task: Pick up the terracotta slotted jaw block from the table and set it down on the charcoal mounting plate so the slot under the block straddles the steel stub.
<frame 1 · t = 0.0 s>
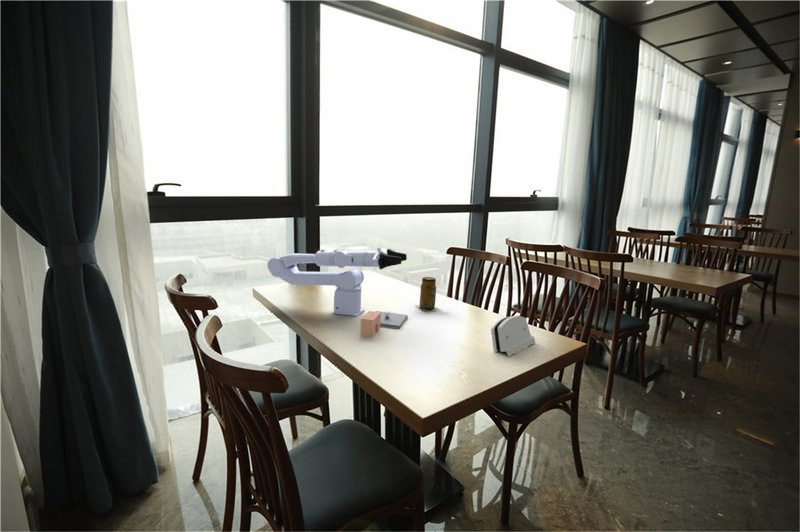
hand: (403, 258, 132), 22 cm above the table, tool horizontal, fingers open, 7 cm apart
jaw block: (370, 331, 122), on the table
mounting plate: (386, 320, 133), on the table
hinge: (511, 346, 117), on the table
steel stub: (387, 314, 133), on the mounting plate, point 2 cm above the table
condiment: (427, 308, 150), on the table
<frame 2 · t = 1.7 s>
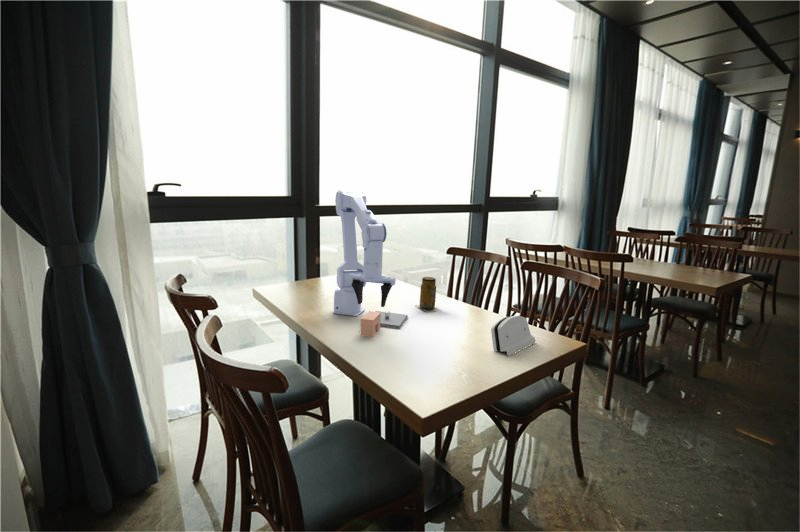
hand: (371, 304, 120), 9 cm above the table, tool pointing down, fingers open, 7 cm apart
nothing on the table moved.
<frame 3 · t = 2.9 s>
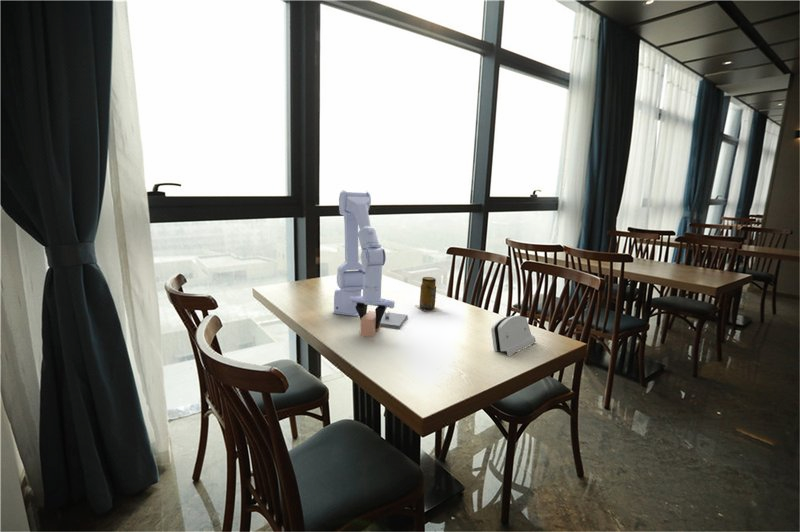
hand: (370, 326, 122), 2 cm above the table, tool pointing down, fingers closed on jaw block, 4 cm apart
jaw block: (370, 331, 122), on the table, touching gripper
everything else where it was.
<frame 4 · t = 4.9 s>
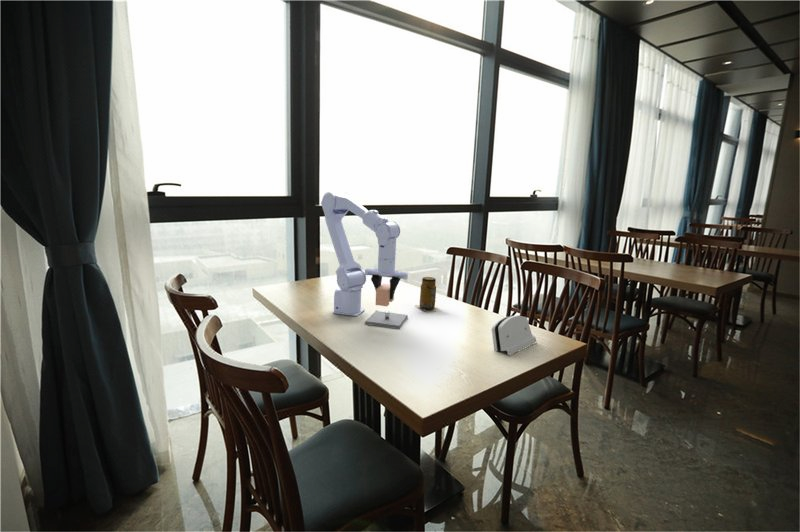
hand: (385, 297, 129), 9 cm above the table, tool pointing down, fingers closed on jaw block, 4 cm apart
jaw block: (384, 302, 130), point 7 cm above the table, touching gripper
everything else where it was.
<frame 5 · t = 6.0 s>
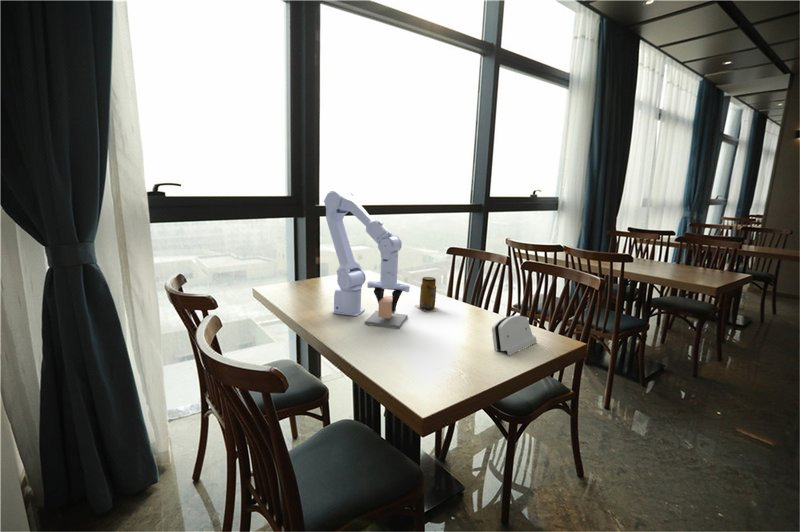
hand: (387, 309, 132), 4 cm above the table, tool pointing down, fingers closed on jaw block, 4 cm apart
jaw block: (387, 314, 133), point 2 cm above the table, touching gripper
everything else where it was.
when the fingers open (4 cm above the table, at t = 6.9 s): jaw block drops 1 cm, resting on mounting plate.
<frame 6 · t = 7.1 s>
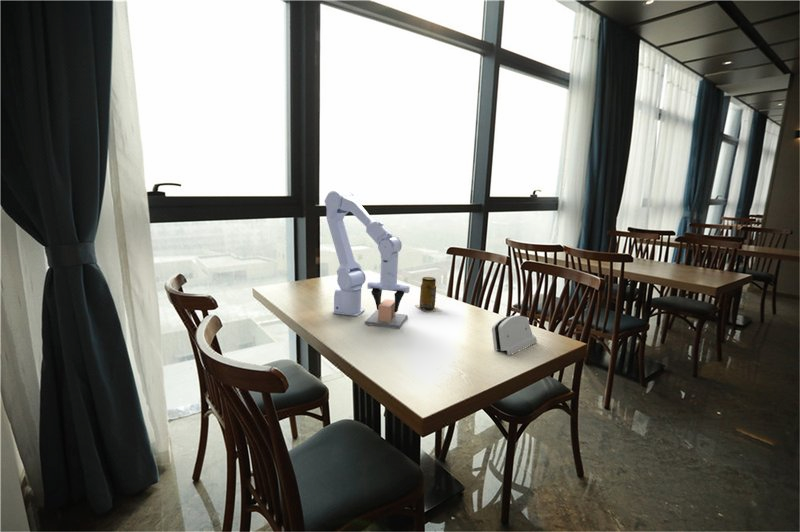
hand: (387, 310, 132), 4 cm above the table, tool pointing down, fingers open, 6 cm apart
jaw block: (386, 317, 133), point 1 cm above the table, touching mounting plate
everything else where it was.
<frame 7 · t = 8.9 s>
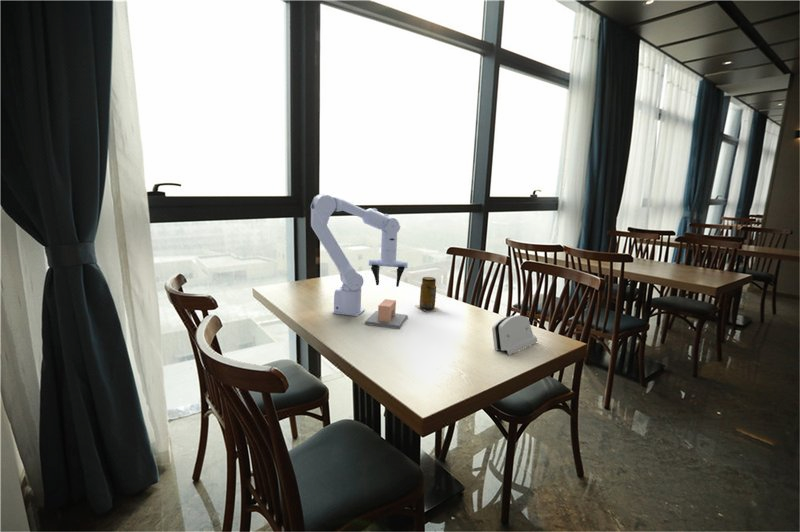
hand: (387, 285, 144), 9 cm above the table, tool pointing down, fingers open, 7 cm apart
nothing on the table moved.
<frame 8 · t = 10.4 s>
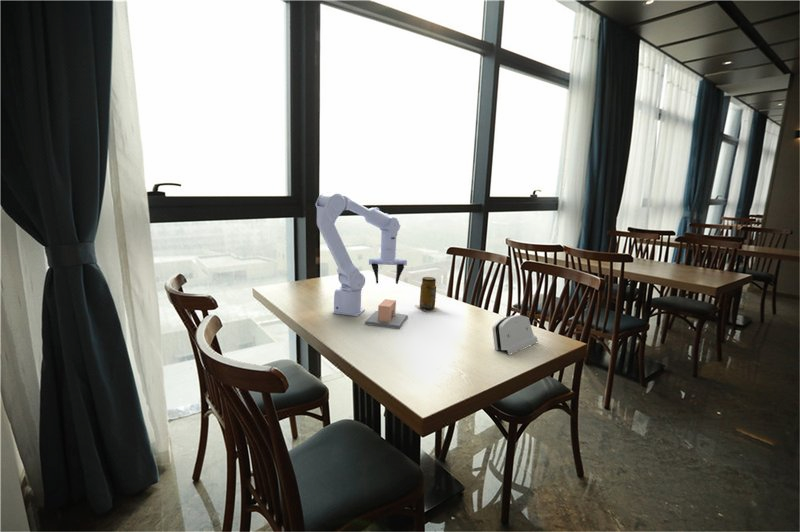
hand: (386, 283, 148), 9 cm above the table, tool pointing down, fingers open, 7 cm apart
at the end: jaw block 0.1 cm off-centre on the mounting plate, point 1.0 cm above the mounting plate's base; jaw block tilted 0°; the gripper is holding nothing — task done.
